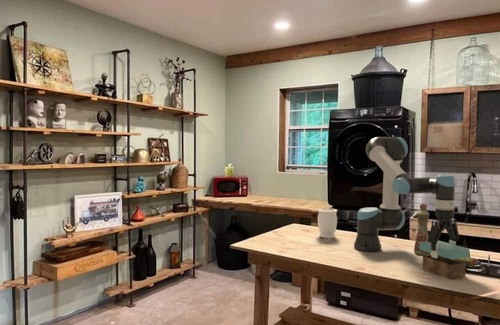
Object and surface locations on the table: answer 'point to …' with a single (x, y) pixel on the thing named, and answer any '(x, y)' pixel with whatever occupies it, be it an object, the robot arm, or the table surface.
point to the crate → (444, 267)
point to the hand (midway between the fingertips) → (443, 256)
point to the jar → (327, 222)
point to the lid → (446, 250)
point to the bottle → (422, 229)
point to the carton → (467, 260)
